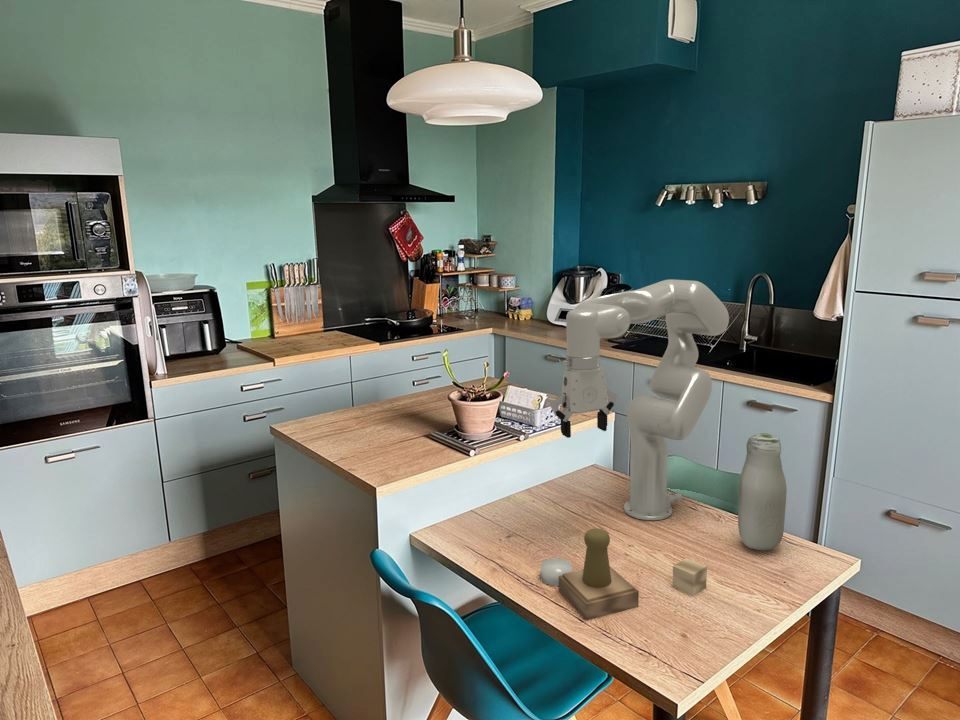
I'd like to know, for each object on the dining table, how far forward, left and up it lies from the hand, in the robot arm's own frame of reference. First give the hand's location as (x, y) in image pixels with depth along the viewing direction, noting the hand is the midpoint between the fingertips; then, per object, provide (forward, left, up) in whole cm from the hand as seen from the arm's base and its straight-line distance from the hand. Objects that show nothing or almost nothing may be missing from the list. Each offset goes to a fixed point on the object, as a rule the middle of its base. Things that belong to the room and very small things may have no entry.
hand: (584, 432), depth 163 cm
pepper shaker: (+10, +23, -24) cm, 35 cm away
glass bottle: (-36, +19, -28) cm, 50 cm away
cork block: (-10, +27, -28) cm, 41 cm away
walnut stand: (+10, +23, -28) cm, 38 cm away
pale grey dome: (+14, +12, -28) cm, 34 cm away
